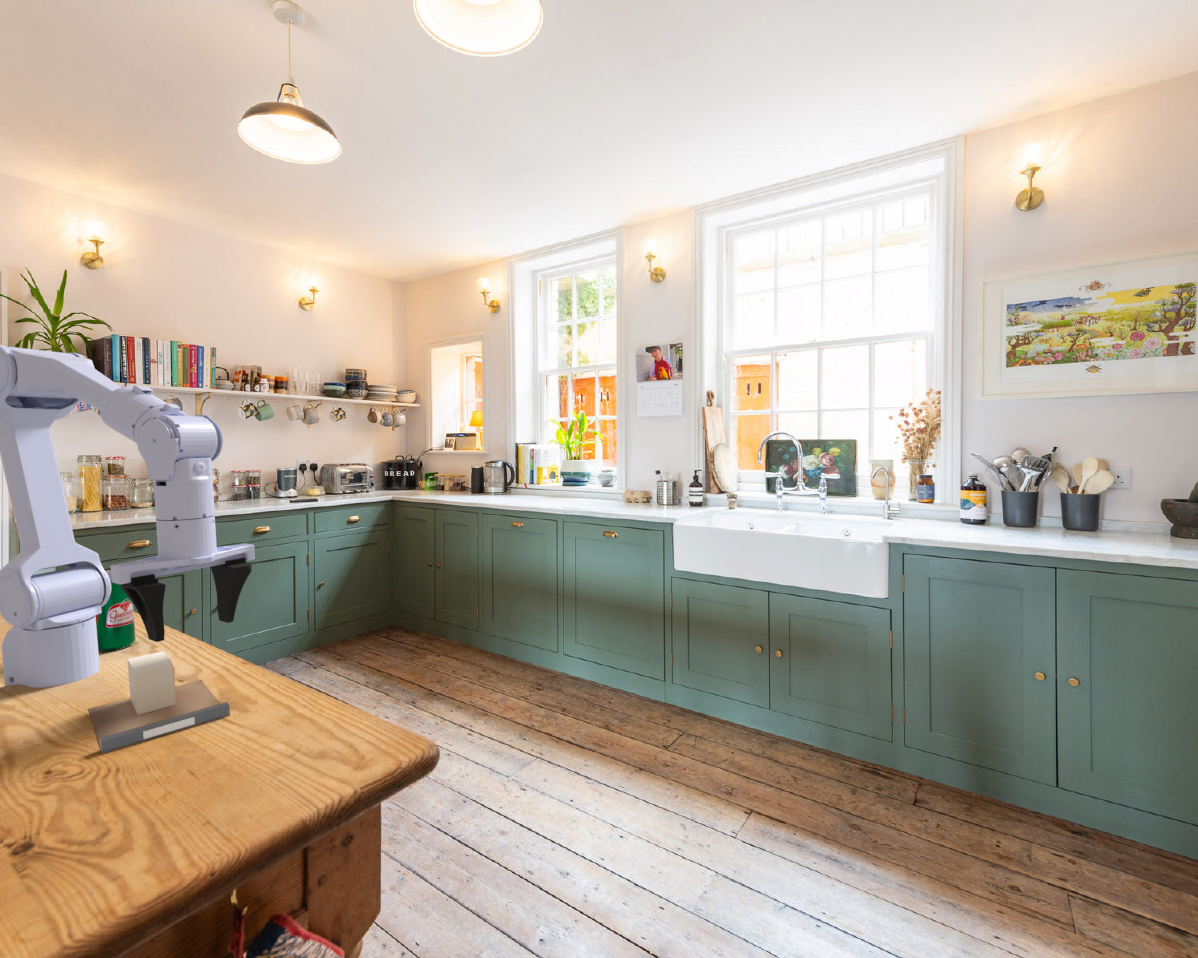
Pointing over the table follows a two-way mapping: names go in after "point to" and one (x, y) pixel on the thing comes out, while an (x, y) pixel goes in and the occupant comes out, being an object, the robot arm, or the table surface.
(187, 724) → the rail
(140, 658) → the carton
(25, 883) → the table surface
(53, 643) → the robot arm
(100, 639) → the soda can
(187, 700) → the shelf board
